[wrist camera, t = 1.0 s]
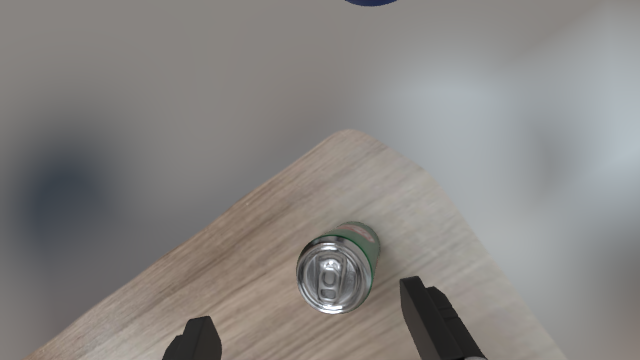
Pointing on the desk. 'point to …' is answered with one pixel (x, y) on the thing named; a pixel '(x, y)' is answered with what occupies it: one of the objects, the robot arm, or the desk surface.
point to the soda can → (338, 268)
